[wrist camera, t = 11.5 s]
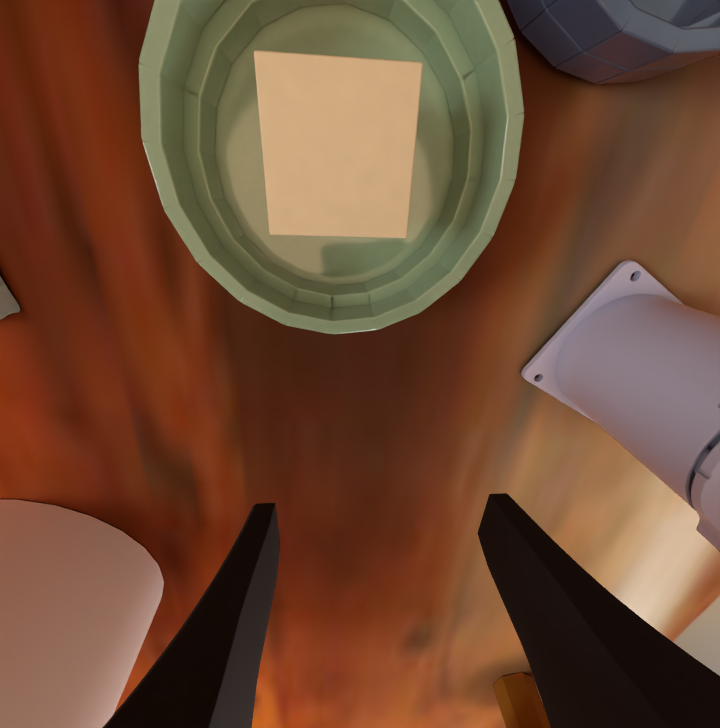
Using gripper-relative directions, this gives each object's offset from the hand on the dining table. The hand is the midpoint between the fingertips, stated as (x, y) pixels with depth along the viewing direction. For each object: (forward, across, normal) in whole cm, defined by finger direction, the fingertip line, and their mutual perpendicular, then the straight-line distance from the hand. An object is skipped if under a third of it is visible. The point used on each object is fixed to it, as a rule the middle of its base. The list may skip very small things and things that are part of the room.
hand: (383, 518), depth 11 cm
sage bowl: (+9, +1, -11) cm, 14 cm away
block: (+9, +1, -11) cm, 14 cm away
